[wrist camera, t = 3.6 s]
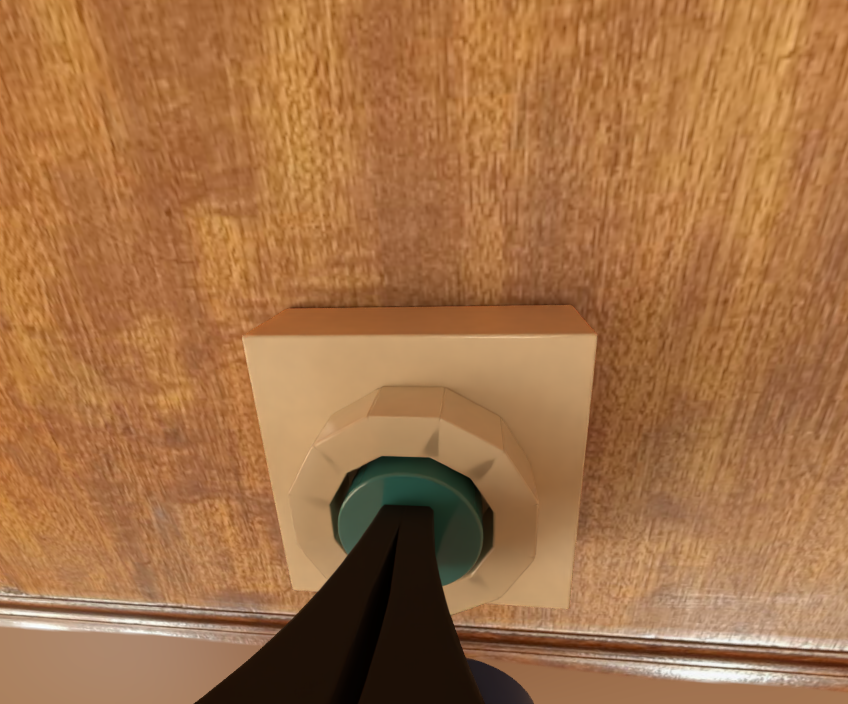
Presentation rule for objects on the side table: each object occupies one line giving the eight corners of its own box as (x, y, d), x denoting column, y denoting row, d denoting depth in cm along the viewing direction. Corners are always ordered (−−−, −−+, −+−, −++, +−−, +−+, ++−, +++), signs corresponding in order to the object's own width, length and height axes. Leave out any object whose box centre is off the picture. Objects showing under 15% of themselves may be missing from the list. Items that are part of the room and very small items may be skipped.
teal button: (482, 547, 14) (483, 596, 12) (359, 540, 14) (344, 586, 12) (483, 438, 12) (484, 477, 11) (346, 435, 13) (328, 471, 11)
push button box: (554, 540, 18) (582, 665, 13) (320, 528, 19) (269, 638, 14) (573, 304, 14) (620, 359, 10) (285, 307, 15) (202, 358, 11)
